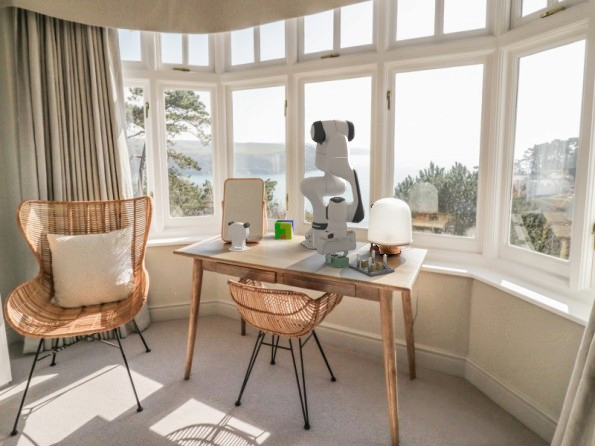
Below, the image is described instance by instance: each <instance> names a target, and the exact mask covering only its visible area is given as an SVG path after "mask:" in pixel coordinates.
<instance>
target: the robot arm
mask: <svg viewBox="0 0 595 446" xmlns="http://www.w3.org/2000/svg"><path fill="white" fill-rule="evenodd" d="M309 133H310V134H309V135H310V136H311V140H312V141H313V142H314V143H316V145H315V155H314V156H315V158H314V165H315V168H316V169H317V170H319V171H320V172H323V173H324V175H322V176H320V175H319V176H309V177H305V178H303V179H302V180H301V181H300V184H299V191H300V193H301V194H302V196H304V198H306V199H307V200H308V201H309V203H310V204H311V206H312V215H313V217H312V218H313V219H312V220H313V221H312V222H310V223H311V228H310V229H309V230H308V231H306V233H305V235H304V239H303V240H301V244H302V245H303V246H305V247H306V248H307V249H310V250H316V252H317V253H318V254H319V255H320V256H321V255H322V256H325V255H326V256H327V258H328V262H329V263H332V262H333V259H331V257H330V256H331V254H333V253H336V254H339V253H341V252H342V253H343V256H345V257H348V254H349V251H353V250H354V251H355V250H356V249H357V238H356V232H355V231H354V230H348V225H347V223H352V224H360V223H361V222H362V221H363V220H364V219H365V217H366V215H365V214H366V211H365V206H364V204H363V200H362V191H361V187H360V185H361V184H360V180H359V177H358V172H357V170H356V168H355V167H353V166H352V163H351V161H350V155H351V154H350V147H349V146H350V145H349V143H350V142H352V141H353V140H354V139H355V136H356V126H355V123H353V121H350V120H342V119H339V120H338V119H332V120H331V119H329V120H317V121H313V123H312V124H311V126H310V130H309ZM346 181H347V182H346ZM347 183H349V185H350V186H351V193H352V199H353V201H352V202H351V201H350V202H349V201H347V200H346V198H344V197H342V196H341V195H344V193H346V191H347ZM325 197H331V198H329V200H328V202H326V201H325V200H324V198H325Z"/></svg>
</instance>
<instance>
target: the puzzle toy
mask: <svg viewBox="0 0 595 446" xmlns="http://www.w3.org/2000/svg"><path fill="white" fill-rule="evenodd" d="M294 229H295V228H294V220H293V219H292V220H289V219H287V220H286V219H284V220H283V219H278V220H276V221H275V222H274V239H275V240H292V239H293V237H294V236H295V235H294Z"/></svg>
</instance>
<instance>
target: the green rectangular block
mask: <svg viewBox="0 0 595 446" xmlns="http://www.w3.org/2000/svg"><path fill="white" fill-rule="evenodd" d="M324 256H325V260H324V263H325V265H329V266H332V267H334V268H338V269H342V268H347V267H349V265H350V257H348V256H346V257H345V256H343V255H341V254H339V253H332V254H331V256H330V257H331V259H333V262H332V263H329V262H328V258H327V256H326V255H324Z"/></svg>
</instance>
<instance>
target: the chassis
mask: <svg viewBox="0 0 595 446" xmlns="http://www.w3.org/2000/svg"><path fill="white" fill-rule="evenodd" d="M382 256H383V257H382V259H383V261H382V262H376V261H375V258H376V254H375V251H372V252H371V256H370V257H369V256H368V258H367V259H361V253H360V252H357V253H356V262H355V263H352V264H349V266H348V267H349V268H350V269H353V270H355V271H358V272H360V273H363V274H365V275H367V276H370V277H375V276H380V275H386V274H389V273H394V272H395V268H392V267H389V266H387V257H388V255H386V254H384V255H382Z"/></svg>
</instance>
